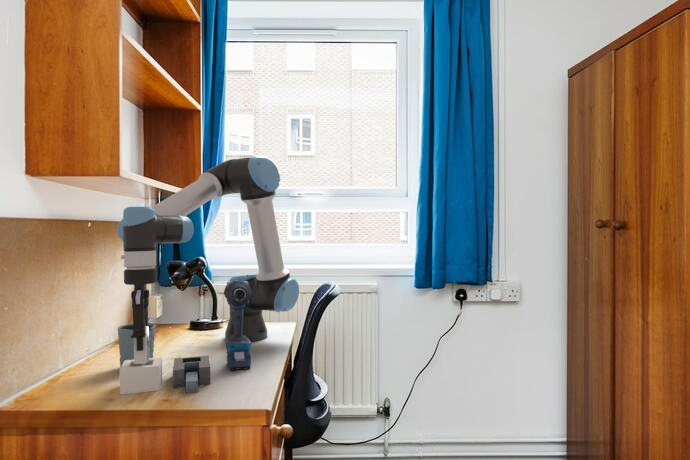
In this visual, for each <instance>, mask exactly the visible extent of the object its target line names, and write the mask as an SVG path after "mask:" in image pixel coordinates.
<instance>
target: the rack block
mask: <svg viewBox="0 0 690 460" xmlns="http://www.w3.org/2000/svg"><path fill="white" fill-rule="evenodd" d="M149 359H150V365H145V366H134V360H125V361H124V363H123V364H122V366H121V368H119V395H129V394H138V393H139V394H140V393H146V392H148V393H149V391H150V392H156V391H158V392H159V391H161V387H162V383H163V358H162V357H161V356H160V357H153V358H149Z"/></svg>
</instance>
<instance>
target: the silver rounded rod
mask: <svg viewBox="0 0 690 460" xmlns="http://www.w3.org/2000/svg"><path fill="white" fill-rule="evenodd" d="M145 333H146V335H145V336H146V358H147V363H142V364H134V366H145V365H150V359H149V326H145Z"/></svg>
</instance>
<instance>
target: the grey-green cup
mask: <svg viewBox="0 0 690 460" xmlns="http://www.w3.org/2000/svg"><path fill="white" fill-rule="evenodd" d="M148 324H149V327H151V331H149V358H154V351H155V334H156V327H157V326H156V324H155V323H151V322H148ZM131 335H133V323H127V324H122V325H119V326H118V327H117V337H118V348H119V349H118V350H119V366H120V368H121V366H122V364H123V363H124V361H125V360H134V338H131ZM120 368H119V369H120Z"/></svg>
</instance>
